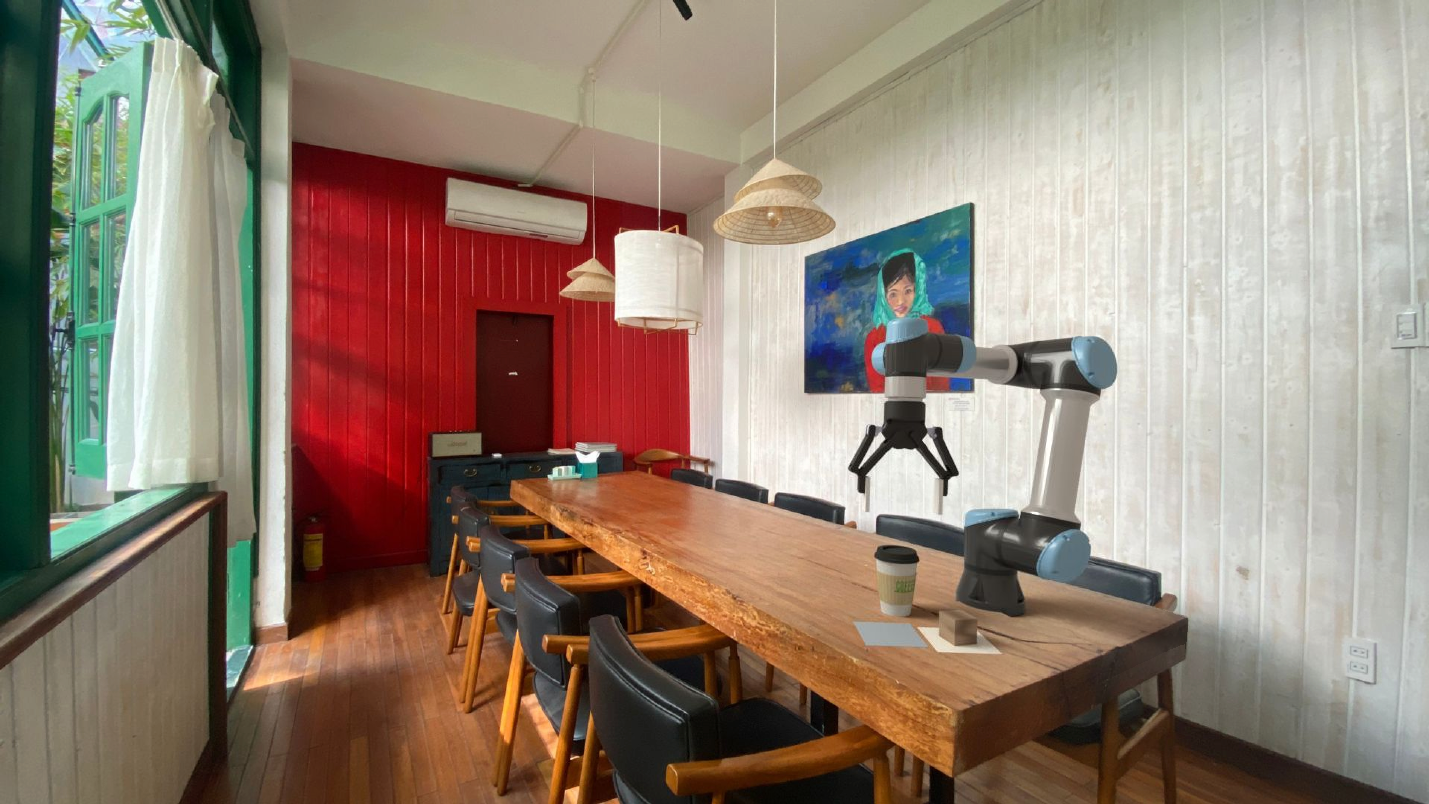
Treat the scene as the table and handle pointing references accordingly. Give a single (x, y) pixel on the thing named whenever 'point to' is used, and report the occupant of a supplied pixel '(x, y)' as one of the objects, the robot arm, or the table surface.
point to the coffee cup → (896, 578)
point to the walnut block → (958, 627)
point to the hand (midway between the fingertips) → (901, 512)
